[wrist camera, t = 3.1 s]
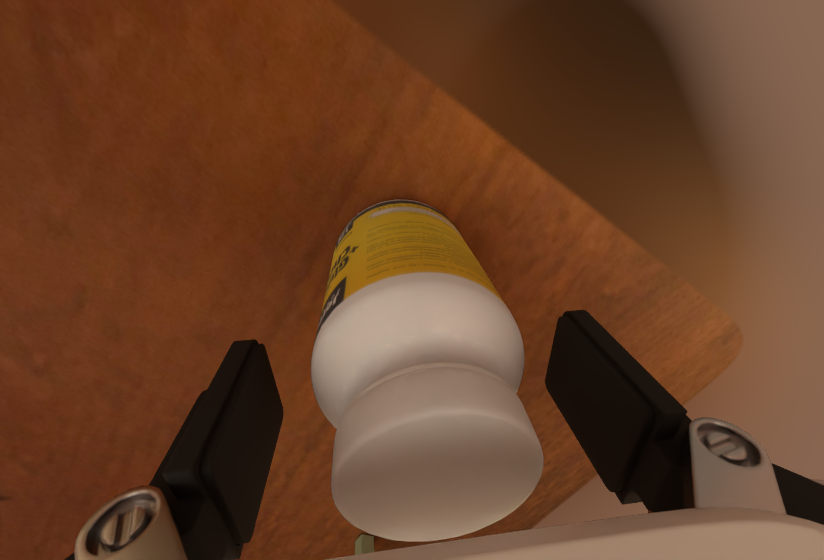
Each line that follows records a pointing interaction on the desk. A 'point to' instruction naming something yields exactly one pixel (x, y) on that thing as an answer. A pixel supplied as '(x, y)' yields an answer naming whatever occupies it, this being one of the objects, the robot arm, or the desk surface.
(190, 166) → the desk surface
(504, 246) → the desk surface
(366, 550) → the mint side table
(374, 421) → the pill bottle
